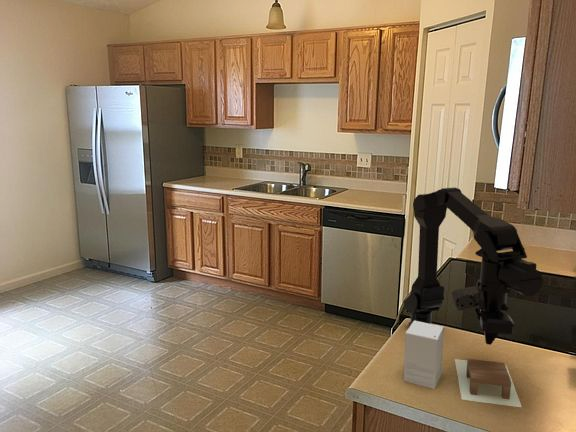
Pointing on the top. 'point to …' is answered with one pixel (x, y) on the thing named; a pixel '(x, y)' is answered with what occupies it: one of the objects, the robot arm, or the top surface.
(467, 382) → the mat
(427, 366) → the supplement box
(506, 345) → the top surface
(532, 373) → the top surface
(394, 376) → the top surface
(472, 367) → the footstool
